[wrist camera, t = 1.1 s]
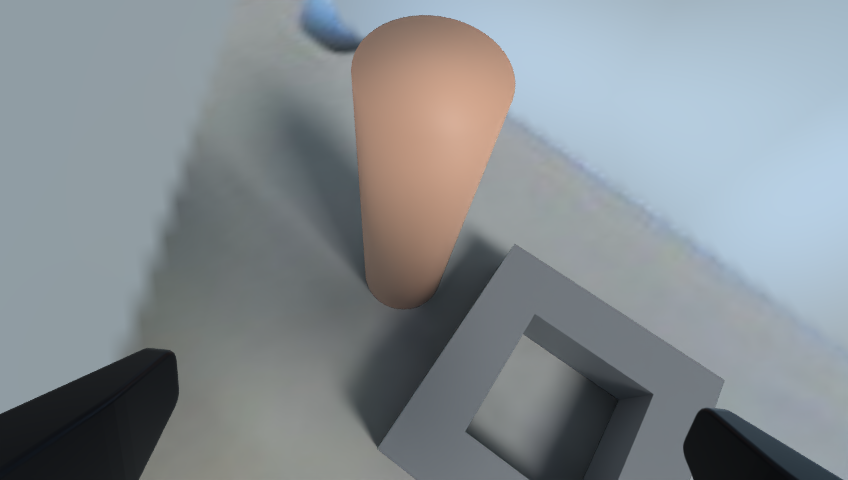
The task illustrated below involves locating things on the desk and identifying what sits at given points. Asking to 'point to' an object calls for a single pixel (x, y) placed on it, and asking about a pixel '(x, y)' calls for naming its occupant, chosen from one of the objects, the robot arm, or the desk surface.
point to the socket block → (576, 346)
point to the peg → (422, 145)
